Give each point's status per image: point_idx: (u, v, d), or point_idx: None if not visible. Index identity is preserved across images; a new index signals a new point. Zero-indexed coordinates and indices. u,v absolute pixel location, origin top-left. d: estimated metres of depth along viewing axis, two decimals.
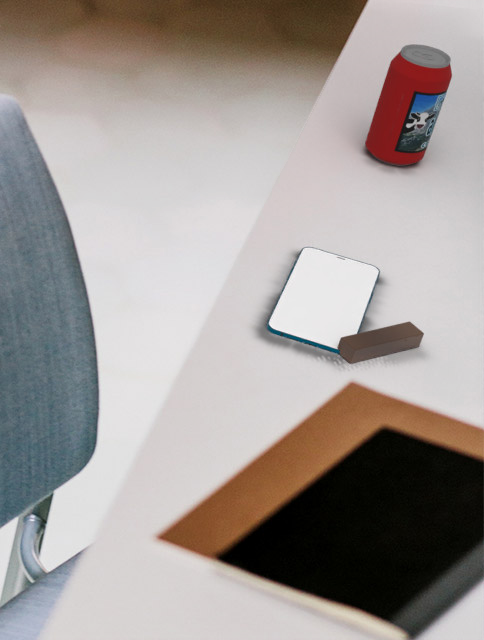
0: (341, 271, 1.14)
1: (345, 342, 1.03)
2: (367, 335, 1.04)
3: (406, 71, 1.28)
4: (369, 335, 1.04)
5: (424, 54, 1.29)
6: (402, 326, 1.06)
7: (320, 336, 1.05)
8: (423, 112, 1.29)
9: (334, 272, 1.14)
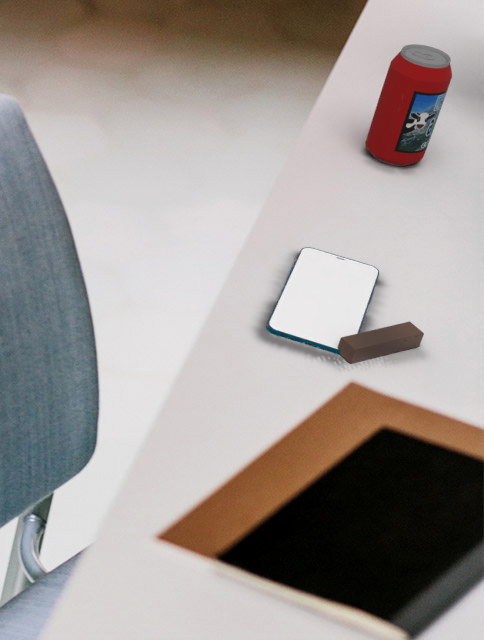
0: (340, 271, 1.14)
1: (345, 342, 1.03)
2: (367, 335, 1.04)
3: (406, 71, 1.28)
4: (369, 335, 1.04)
5: (424, 54, 1.29)
6: (402, 326, 1.06)
7: (321, 336, 1.05)
8: (423, 113, 1.29)
9: (334, 272, 1.14)
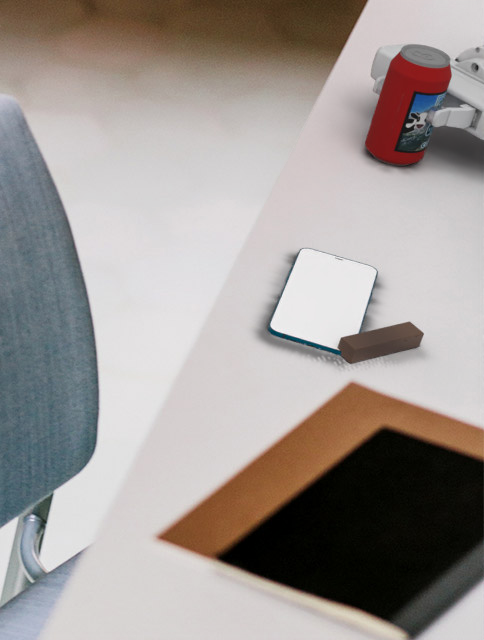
0: (339, 271, 1.14)
1: (345, 342, 1.03)
2: (367, 335, 1.04)
3: (406, 71, 1.28)
4: (369, 335, 1.04)
5: (424, 54, 1.29)
6: (402, 326, 1.06)
7: (322, 337, 1.05)
8: (422, 112, 1.29)
9: (332, 273, 1.14)
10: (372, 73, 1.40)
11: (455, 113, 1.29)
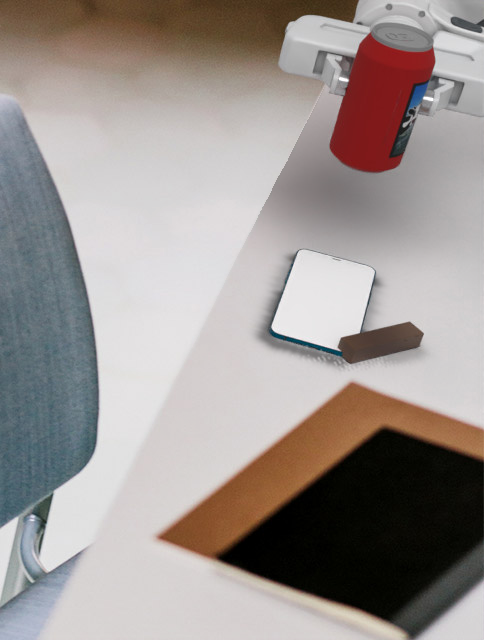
0: (337, 272, 1.14)
1: (345, 342, 1.03)
2: (367, 335, 1.04)
3: (402, 63, 1.01)
4: (369, 335, 1.04)
5: (398, 34, 1.03)
6: (402, 326, 1.06)
7: (323, 339, 1.05)
8: (418, 105, 1.05)
9: (331, 274, 1.14)
10: (287, 67, 1.11)
11: (444, 94, 1.06)
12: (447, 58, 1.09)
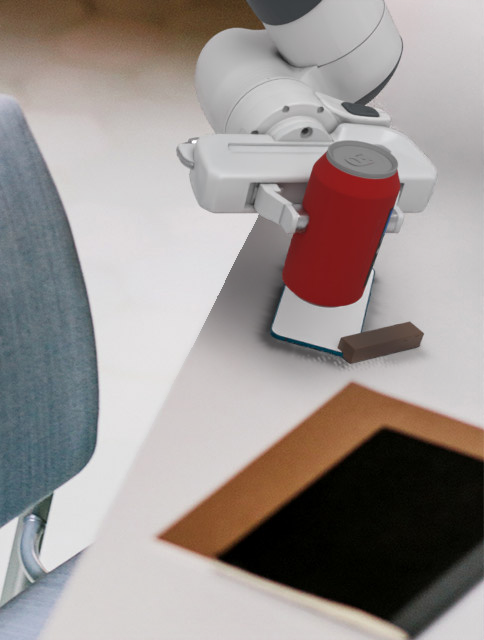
0: None
1: (345, 342, 1.03)
2: (367, 335, 1.04)
3: (381, 192, 0.88)
4: (369, 335, 1.04)
5: (355, 157, 0.89)
6: (402, 326, 1.06)
7: (324, 340, 1.05)
8: None
9: None
10: (216, 207, 0.94)
11: None
12: None
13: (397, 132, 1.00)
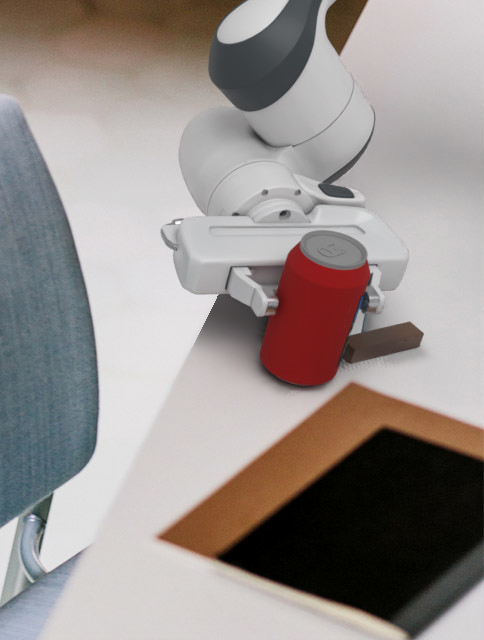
0: None
1: None
2: (367, 335, 1.04)
3: (351, 282, 0.93)
4: (369, 335, 1.04)
5: (327, 247, 0.94)
6: (402, 326, 1.06)
7: None
8: None
9: None
10: (198, 289, 0.99)
11: None
12: None
13: (371, 213, 1.05)
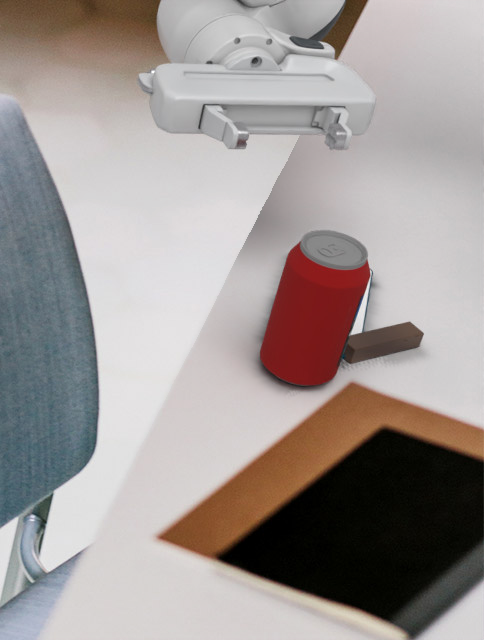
0: None
1: None
2: (367, 335, 1.04)
3: (352, 282, 0.93)
4: (369, 335, 1.04)
5: (327, 247, 0.94)
6: (402, 326, 1.06)
7: None
8: None
9: None
10: (172, 128, 1.03)
11: None
12: (314, 83, 1.06)
13: (340, 63, 1.09)
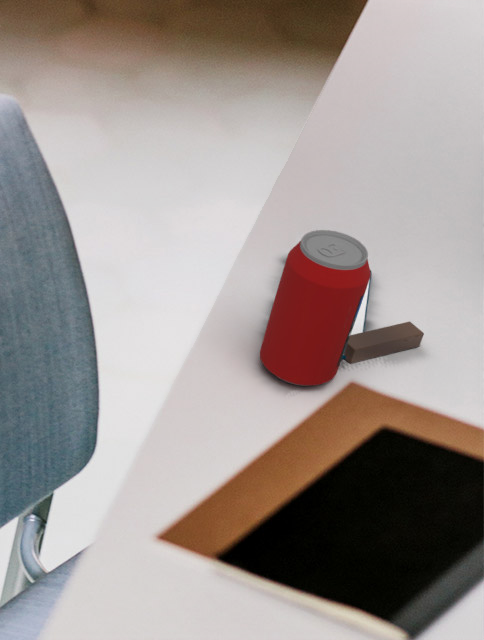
0: None
1: None
2: (367, 335, 1.04)
3: (352, 282, 0.93)
4: (369, 335, 1.04)
5: (327, 247, 0.94)
6: (402, 326, 1.06)
7: None
8: None
9: None
10: None
11: None
12: None
13: None
